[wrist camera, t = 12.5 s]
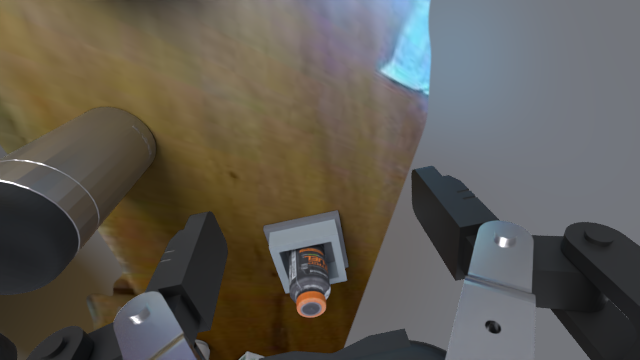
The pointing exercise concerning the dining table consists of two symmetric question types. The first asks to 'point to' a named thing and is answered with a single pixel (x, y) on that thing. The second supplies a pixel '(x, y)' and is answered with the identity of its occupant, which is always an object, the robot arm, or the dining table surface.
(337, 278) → the holder
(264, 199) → the dining table surface
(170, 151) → the dining table surface
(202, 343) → the energy drink can
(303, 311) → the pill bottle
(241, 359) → the syrup box
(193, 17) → the dining table surface
